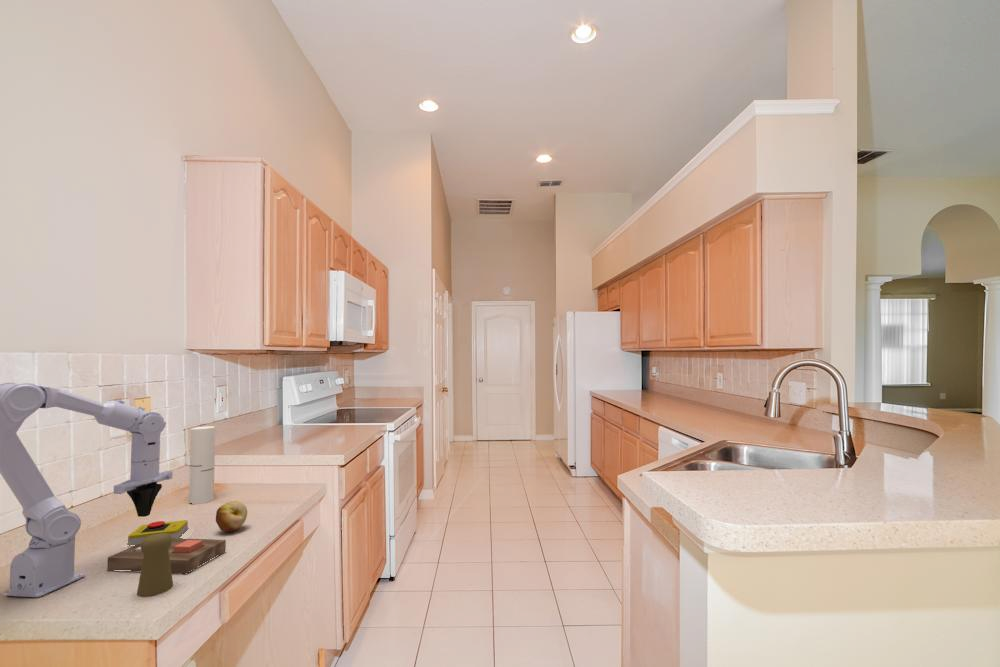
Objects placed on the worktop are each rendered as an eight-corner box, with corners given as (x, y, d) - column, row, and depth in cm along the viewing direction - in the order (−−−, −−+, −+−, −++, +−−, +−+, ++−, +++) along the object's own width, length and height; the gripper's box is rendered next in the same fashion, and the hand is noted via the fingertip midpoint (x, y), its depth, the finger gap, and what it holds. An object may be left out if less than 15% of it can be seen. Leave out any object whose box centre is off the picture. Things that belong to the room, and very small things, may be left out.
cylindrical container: (193, 499, 161) (194, 427, 163) (216, 497, 164) (217, 425, 165) (186, 505, 155) (187, 429, 156) (210, 502, 157) (211, 428, 158)
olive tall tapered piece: (179, 582, 99) (181, 529, 100) (160, 596, 93) (161, 540, 94) (150, 583, 99) (152, 530, 99) (129, 597, 93) (130, 541, 93)
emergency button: (135, 520, 128) (197, 514, 132) (134, 537, 127) (197, 529, 132) (119, 532, 119) (187, 524, 124) (119, 549, 119) (186, 541, 123)
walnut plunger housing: (187, 574, 103) (187, 560, 103) (107, 570, 105) (107, 557, 105) (225, 552, 115) (225, 539, 115) (153, 549, 117) (153, 537, 117)
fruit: (212, 538, 124) (213, 507, 125) (218, 528, 132) (219, 499, 132) (244, 533, 127) (245, 504, 128) (248, 524, 135) (249, 496, 135)
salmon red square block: (189, 561, 107) (189, 547, 107) (173, 561, 108) (173, 546, 108) (202, 554, 111) (202, 540, 111) (187, 553, 111) (187, 539, 112)
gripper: (133, 466, 108) (131, 526, 107) (183, 454, 122) (182, 506, 121) (106, 466, 109) (104, 525, 108) (159, 454, 123) (157, 506, 122)
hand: (143, 515), depth 115 cm, fingers closed
